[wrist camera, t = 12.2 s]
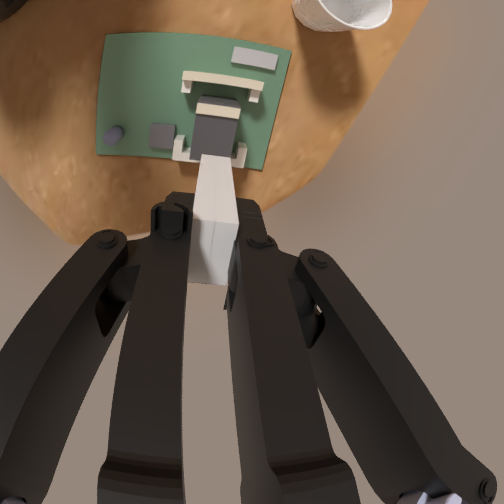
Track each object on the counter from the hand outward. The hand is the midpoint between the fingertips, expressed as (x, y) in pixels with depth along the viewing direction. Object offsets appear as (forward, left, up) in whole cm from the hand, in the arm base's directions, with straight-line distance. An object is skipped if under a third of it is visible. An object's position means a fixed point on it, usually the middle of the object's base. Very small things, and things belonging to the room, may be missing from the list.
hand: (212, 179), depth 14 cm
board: (-4, +2, -20) cm, 20 cm away
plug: (0, 0, -19) cm, 19 cm away
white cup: (+9, +17, -20) cm, 28 cm away
